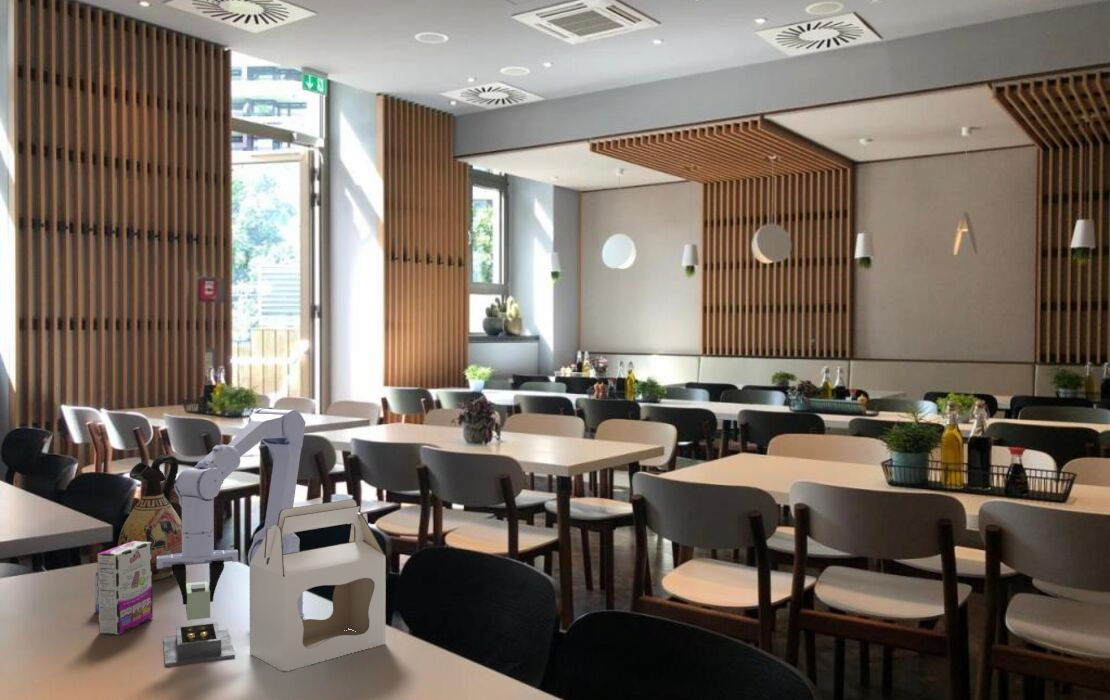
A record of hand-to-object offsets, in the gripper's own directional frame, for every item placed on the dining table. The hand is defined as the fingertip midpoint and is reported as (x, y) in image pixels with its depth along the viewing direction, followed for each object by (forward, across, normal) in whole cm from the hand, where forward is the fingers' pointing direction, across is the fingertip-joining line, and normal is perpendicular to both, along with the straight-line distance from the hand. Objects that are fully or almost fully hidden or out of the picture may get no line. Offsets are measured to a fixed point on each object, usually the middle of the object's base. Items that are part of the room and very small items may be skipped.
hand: (197, 601), depth 179 cm
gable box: (+9, +21, -9) cm, 25 cm away
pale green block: (+2, 0, +1) cm, 2 cm away
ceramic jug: (+9, -7, +60) cm, 61 cm away
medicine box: (+9, -15, +32) cm, 36 cm away
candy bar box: (+9, -13, +20) cm, 25 cm away
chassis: (+9, 0, 0) cm, 9 cm away
